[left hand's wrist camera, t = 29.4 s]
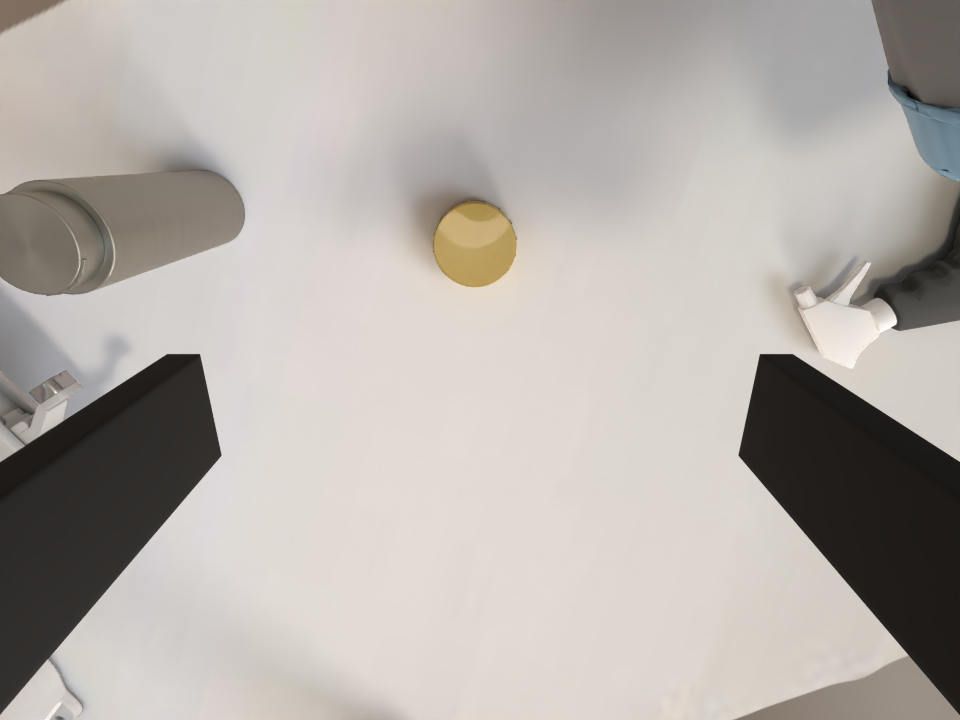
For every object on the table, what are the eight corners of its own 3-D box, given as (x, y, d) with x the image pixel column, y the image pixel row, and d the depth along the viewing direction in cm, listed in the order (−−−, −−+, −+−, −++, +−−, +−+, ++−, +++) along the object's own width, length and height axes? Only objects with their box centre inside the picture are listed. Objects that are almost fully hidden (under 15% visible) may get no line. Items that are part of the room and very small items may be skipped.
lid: (518, 202, 36) (520, 205, 34) (512, 283, 38) (513, 289, 36) (435, 198, 36) (433, 200, 34) (434, 279, 38) (431, 285, 36)
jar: (164, 227, 36) (-41, 275, 22) (180, 157, 35) (-32, 160, 20) (235, 256, 37) (80, 321, 23) (253, 189, 36) (99, 214, 21)
